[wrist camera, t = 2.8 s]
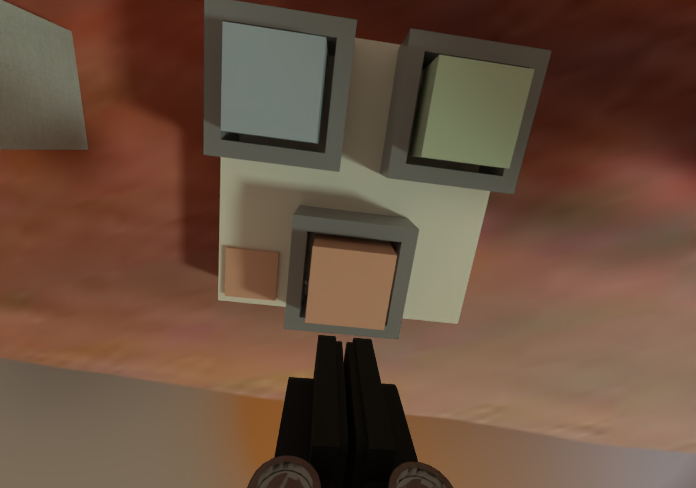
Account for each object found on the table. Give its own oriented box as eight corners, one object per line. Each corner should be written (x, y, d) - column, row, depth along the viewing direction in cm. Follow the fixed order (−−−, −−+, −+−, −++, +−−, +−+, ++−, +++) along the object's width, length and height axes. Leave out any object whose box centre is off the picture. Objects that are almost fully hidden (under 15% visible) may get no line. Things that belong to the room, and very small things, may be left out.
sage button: (506, 80, 16) (534, 69, 14) (486, 166, 17) (509, 168, 15) (424, 68, 16) (439, 54, 14) (409, 156, 17) (421, 156, 15)
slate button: (327, 54, 16) (326, 37, 13) (319, 144, 17) (316, 143, 14) (239, 40, 15) (222, 21, 13) (236, 133, 17) (220, 130, 14)
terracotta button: (389, 242, 18) (397, 255, 16) (378, 309, 20) (384, 330, 17) (315, 233, 18) (312, 246, 16) (308, 302, 19) (304, 322, 17)
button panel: (495, 75, 21) (557, 46, 15) (443, 303, 25) (475, 349, 19) (240, 37, 20) (199, -11, 14) (232, 281, 24) (198, 323, 18)
